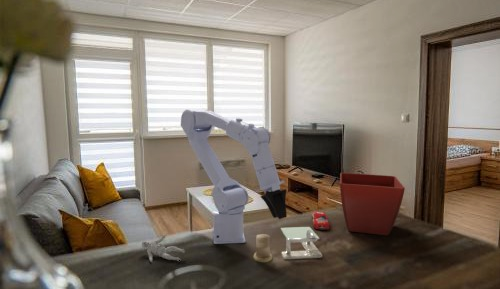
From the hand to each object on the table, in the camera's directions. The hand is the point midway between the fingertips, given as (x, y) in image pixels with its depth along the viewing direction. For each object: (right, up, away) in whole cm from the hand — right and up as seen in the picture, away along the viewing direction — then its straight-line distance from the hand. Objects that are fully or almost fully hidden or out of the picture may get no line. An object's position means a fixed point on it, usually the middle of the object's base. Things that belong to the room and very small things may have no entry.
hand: (279, 217), depth 85 cm
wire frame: (+6, -10, +4) cm, 12 cm away
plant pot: (+32, -9, +23) cm, 41 cm away
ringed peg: (-5, -11, 0) cm, 12 cm away
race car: (+17, -9, +26) cm, 32 cm away
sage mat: (+8, -9, +17) cm, 21 cm away
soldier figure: (-32, -11, 0) cm, 33 cm away
